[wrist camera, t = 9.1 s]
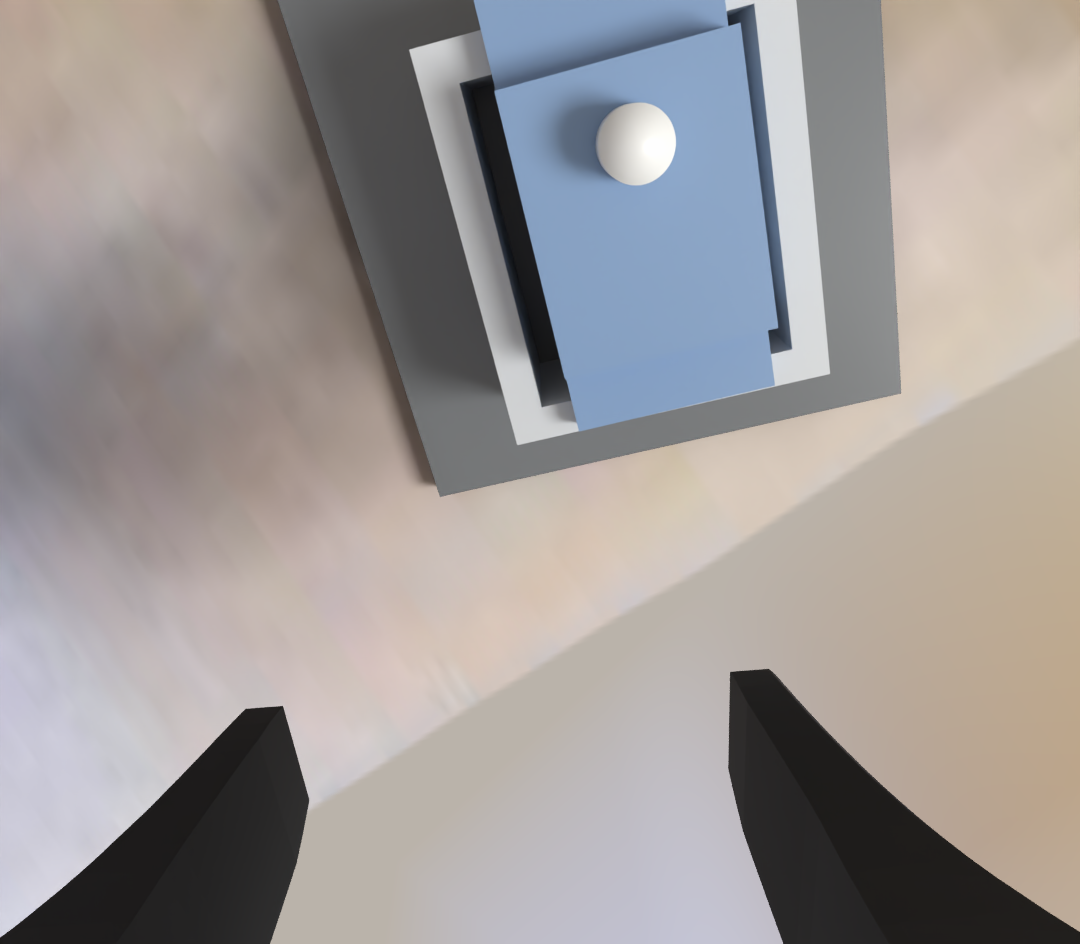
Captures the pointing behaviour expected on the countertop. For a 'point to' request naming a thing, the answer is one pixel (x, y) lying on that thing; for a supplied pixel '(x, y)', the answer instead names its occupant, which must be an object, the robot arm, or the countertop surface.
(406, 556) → the countertop surface
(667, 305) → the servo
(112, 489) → the countertop surface
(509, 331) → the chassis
